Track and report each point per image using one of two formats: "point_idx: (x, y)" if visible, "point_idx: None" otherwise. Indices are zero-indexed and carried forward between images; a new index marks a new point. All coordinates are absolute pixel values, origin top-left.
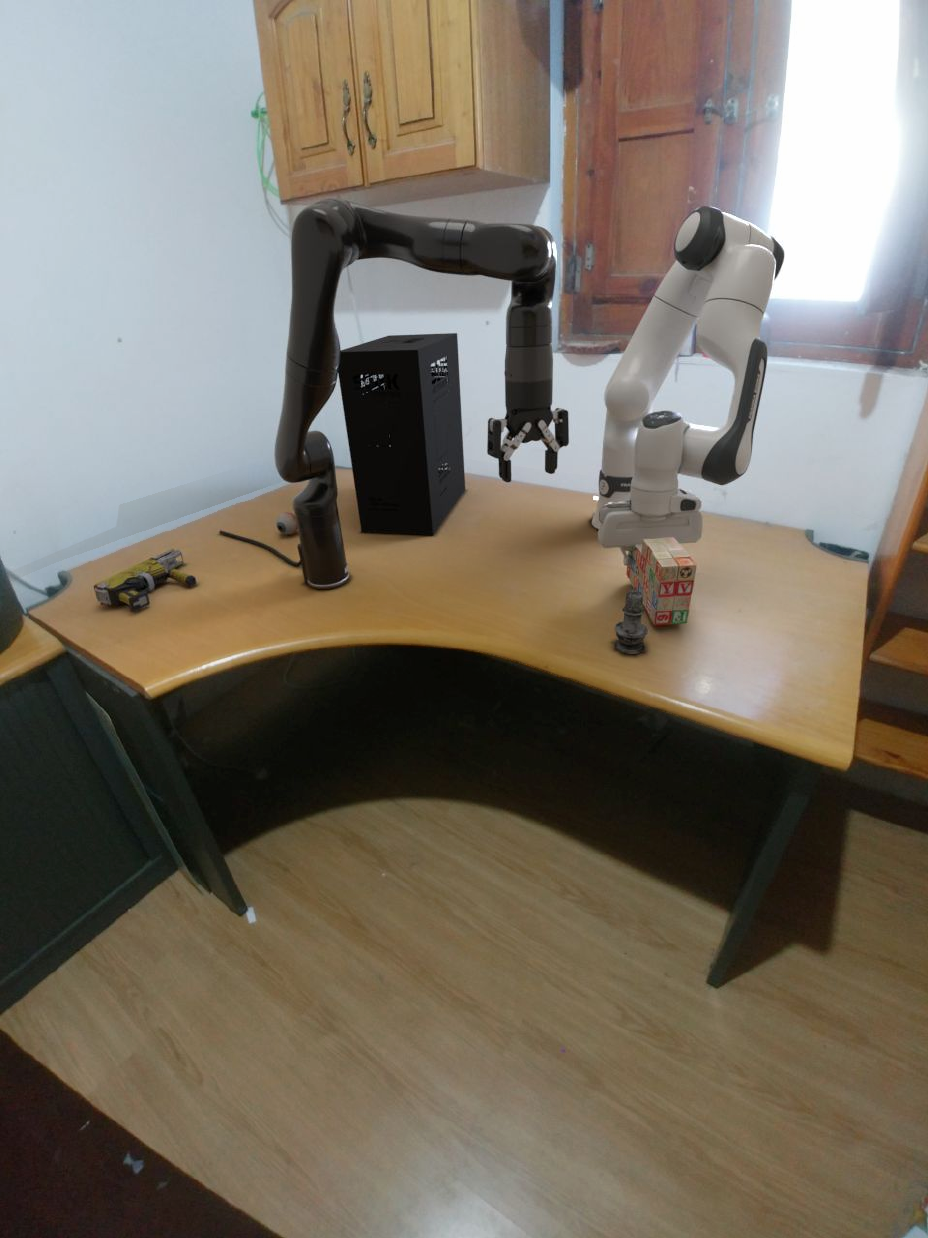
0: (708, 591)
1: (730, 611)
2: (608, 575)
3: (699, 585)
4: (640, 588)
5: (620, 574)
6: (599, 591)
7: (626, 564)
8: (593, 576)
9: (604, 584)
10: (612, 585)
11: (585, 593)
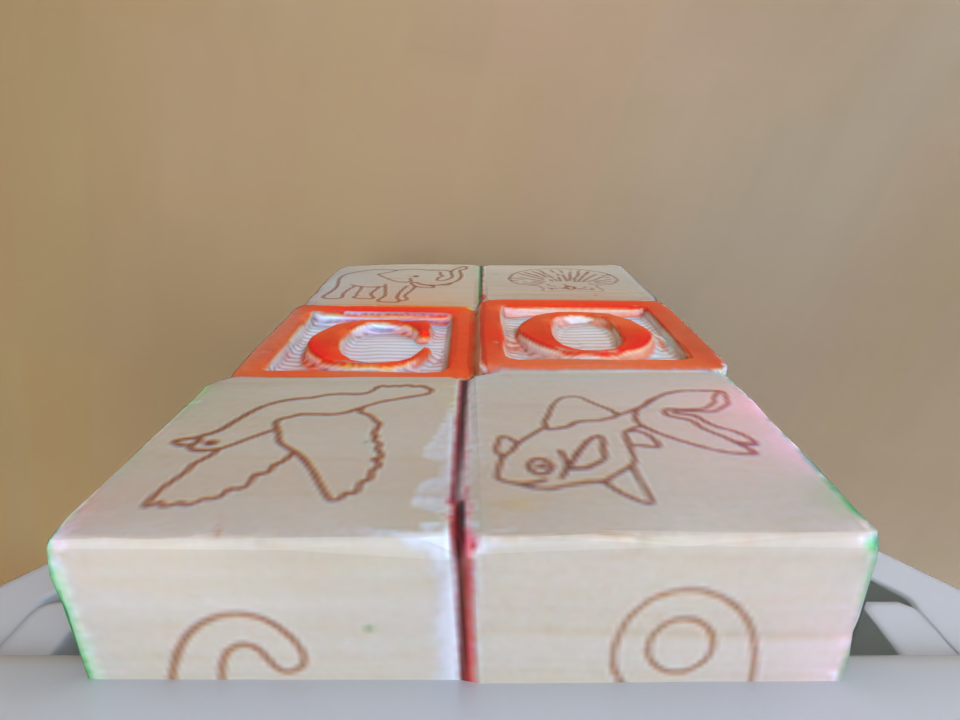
0: (928, 482)
1: None
2: (211, 95)
3: (925, 389)
4: None
5: (333, 87)
6: (119, 398)
7: None
8: (59, 99)
9: (163, 283)
10: (232, 310)
11: (8, 417)
